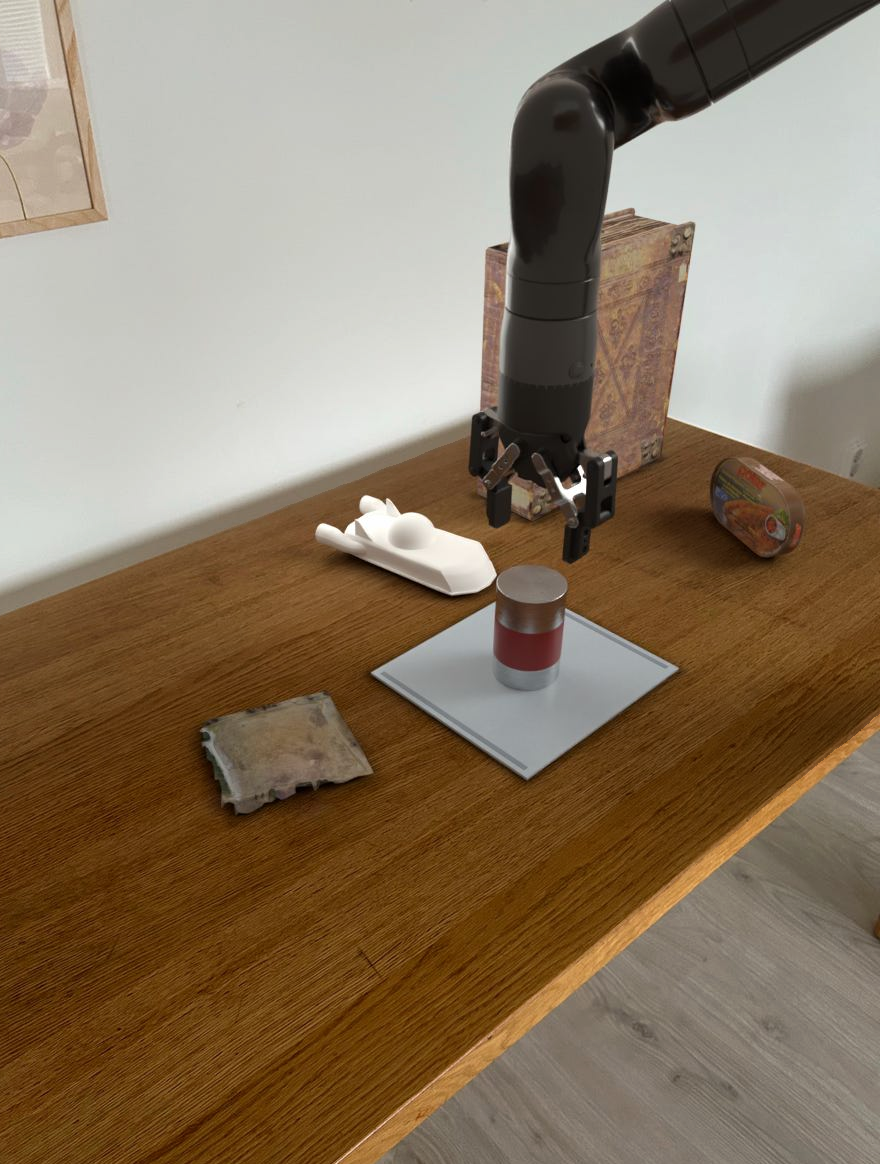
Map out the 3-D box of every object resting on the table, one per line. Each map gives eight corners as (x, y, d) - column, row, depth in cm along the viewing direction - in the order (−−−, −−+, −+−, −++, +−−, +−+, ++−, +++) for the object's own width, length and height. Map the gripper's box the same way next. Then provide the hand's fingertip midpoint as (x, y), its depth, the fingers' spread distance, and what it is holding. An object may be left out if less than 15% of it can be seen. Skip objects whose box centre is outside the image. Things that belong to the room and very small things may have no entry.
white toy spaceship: (462, 612, 106) (463, 565, 103) (315, 555, 116) (312, 510, 112) (513, 569, 113) (516, 523, 109) (370, 518, 122) (369, 475, 119)
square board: (678, 670, 98) (679, 667, 98) (526, 780, 86) (527, 777, 86) (523, 587, 110) (523, 585, 110) (370, 674, 98) (370, 672, 98)
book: (607, 436, 140) (634, 206, 122) (661, 458, 134) (698, 220, 117) (476, 495, 127) (484, 247, 109) (530, 523, 121) (549, 265, 103)
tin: (703, 509, 123) (715, 445, 118) (725, 505, 124) (738, 441, 119) (775, 572, 112) (791, 504, 107) (799, 567, 112) (817, 500, 107)
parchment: (194, 726, 92) (193, 718, 91) (331, 693, 95) (331, 685, 95) (225, 820, 82) (223, 811, 82) (375, 779, 86) (375, 770, 85)
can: (572, 670, 98) (582, 583, 92) (528, 700, 94) (535, 611, 88) (522, 642, 101) (528, 556, 95) (478, 669, 98) (481, 582, 92)
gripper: (650, 374, 77) (627, 556, 87) (511, 329, 86) (504, 499, 95) (588, 402, 73) (570, 590, 83) (448, 352, 82) (447, 528, 91)
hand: (535, 541), depth 89 cm, fingers open, 8 cm apart
